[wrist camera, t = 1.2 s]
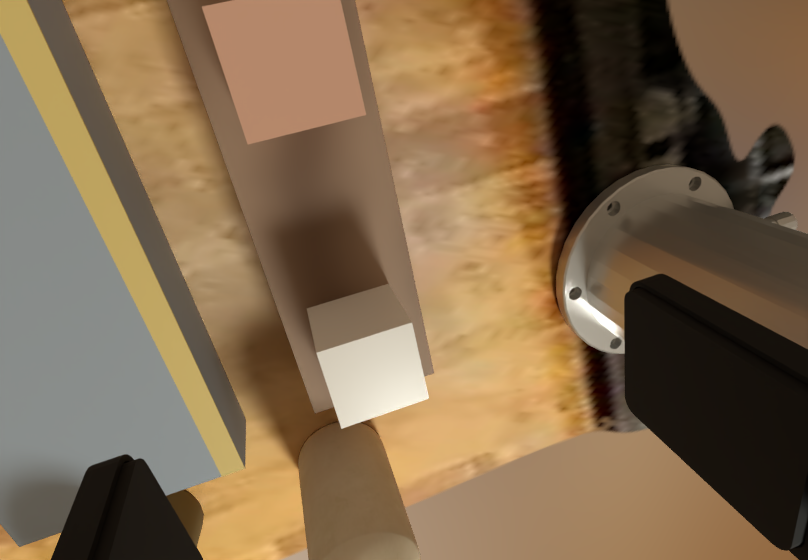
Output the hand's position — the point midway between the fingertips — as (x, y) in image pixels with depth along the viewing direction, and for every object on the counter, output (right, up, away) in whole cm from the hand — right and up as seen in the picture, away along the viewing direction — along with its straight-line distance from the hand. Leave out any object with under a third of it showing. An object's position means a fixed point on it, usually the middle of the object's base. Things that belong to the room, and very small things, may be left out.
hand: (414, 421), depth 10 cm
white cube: (-2, 0, +15) cm, 15 cm away
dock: (-17, +3, +14) cm, 22 cm away
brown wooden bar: (-5, +7, +16) cm, 19 cm away
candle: (-4, -8, +23) cm, 25 cm away
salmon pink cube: (-5, +11, +10) cm, 15 cm away
